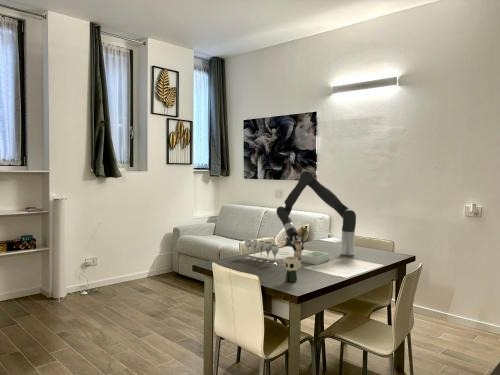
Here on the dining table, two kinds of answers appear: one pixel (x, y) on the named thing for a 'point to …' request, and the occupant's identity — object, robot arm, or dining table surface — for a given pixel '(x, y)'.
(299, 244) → the pepper mill
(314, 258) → the bin
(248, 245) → the goblet set
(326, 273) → the dining table surface
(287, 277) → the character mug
